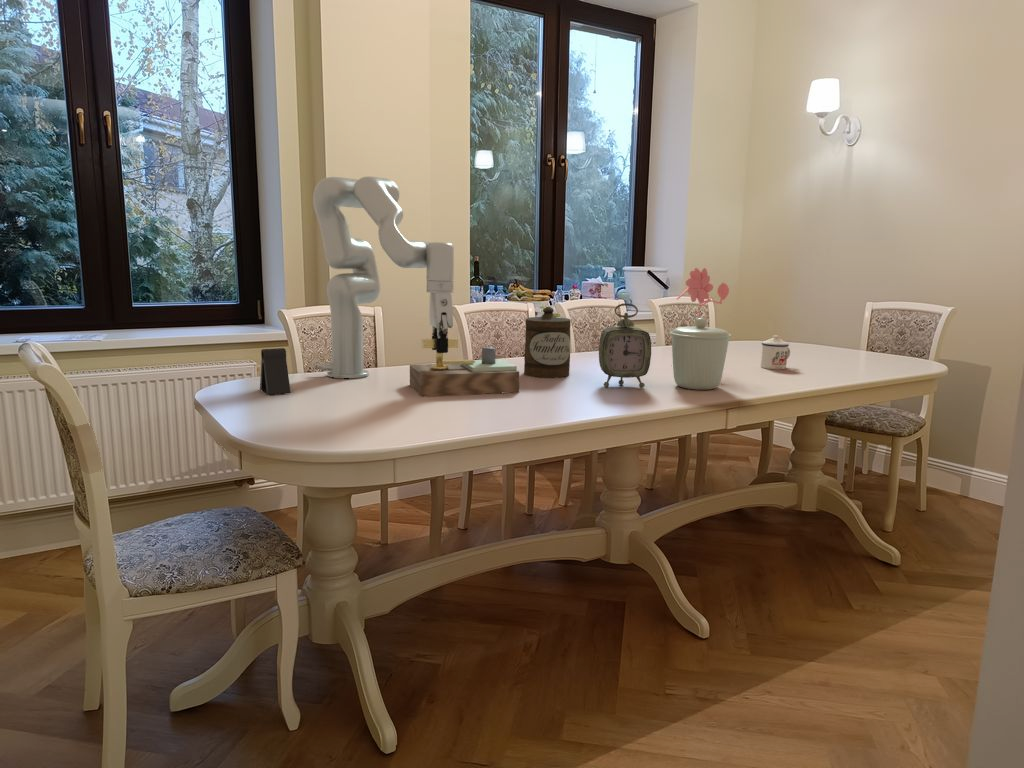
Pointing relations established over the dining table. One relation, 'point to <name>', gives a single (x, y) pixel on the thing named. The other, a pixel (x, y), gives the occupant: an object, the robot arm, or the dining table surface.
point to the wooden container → (547, 345)
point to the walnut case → (461, 380)
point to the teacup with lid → (774, 353)
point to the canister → (699, 355)
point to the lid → (489, 362)
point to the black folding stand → (274, 372)
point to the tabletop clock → (625, 350)
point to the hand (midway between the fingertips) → (439, 350)
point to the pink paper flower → (703, 288)
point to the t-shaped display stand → (439, 356)
